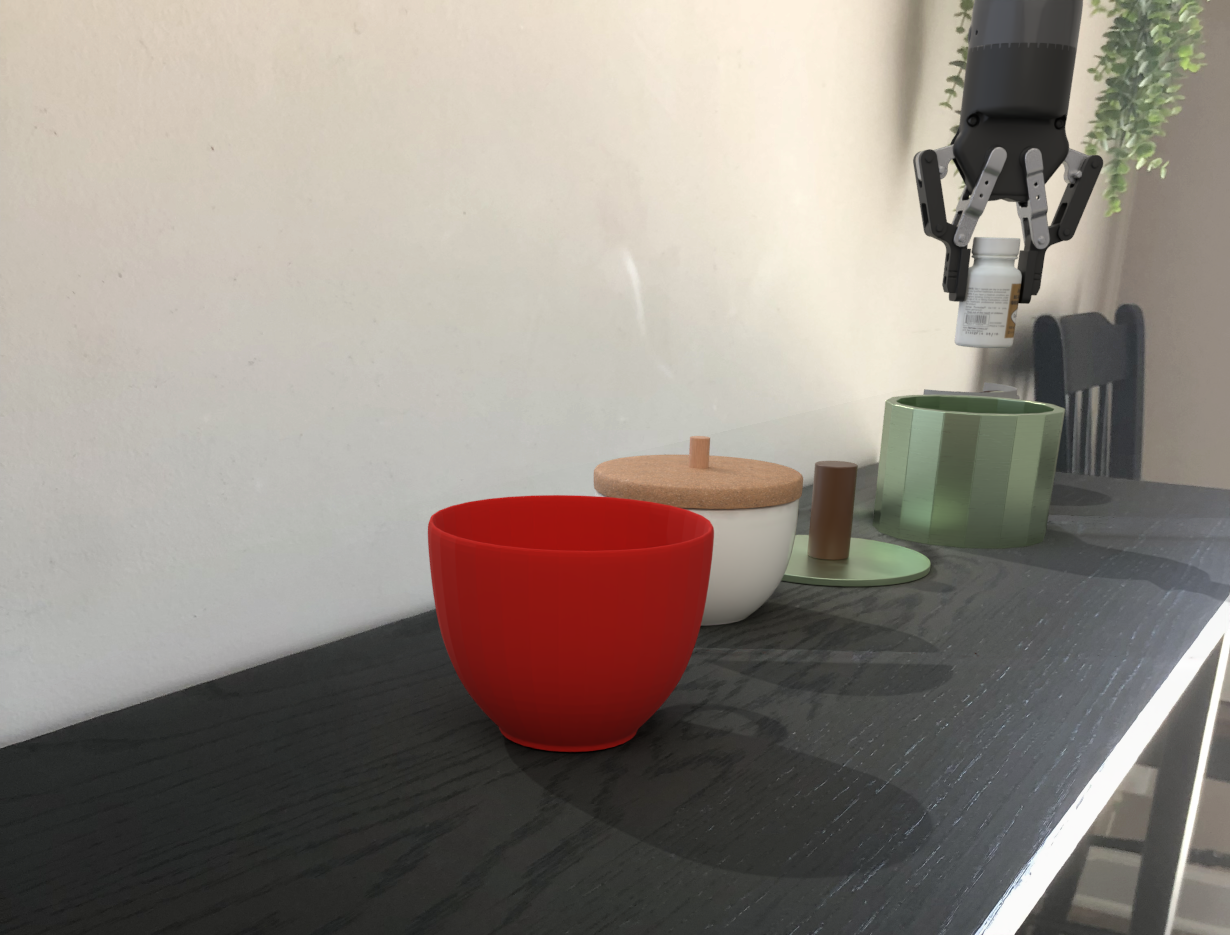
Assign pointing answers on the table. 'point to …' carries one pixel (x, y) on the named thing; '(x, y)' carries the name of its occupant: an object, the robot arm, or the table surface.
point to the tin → (967, 470)
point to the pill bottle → (990, 295)
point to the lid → (846, 540)
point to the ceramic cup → (569, 611)
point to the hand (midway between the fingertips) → (989, 300)
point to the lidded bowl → (721, 516)
